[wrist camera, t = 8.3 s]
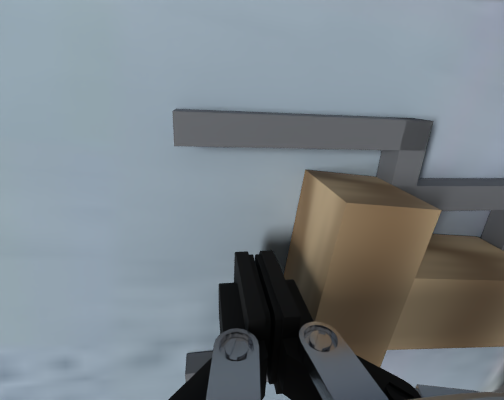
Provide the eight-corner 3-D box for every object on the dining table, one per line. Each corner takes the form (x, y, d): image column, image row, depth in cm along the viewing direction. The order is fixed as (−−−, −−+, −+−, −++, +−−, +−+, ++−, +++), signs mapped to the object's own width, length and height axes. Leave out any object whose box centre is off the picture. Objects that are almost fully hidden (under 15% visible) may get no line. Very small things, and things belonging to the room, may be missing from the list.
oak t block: (272, 328, 16) (293, 401, 12) (305, 169, 13) (346, 202, 9) (436, 326, 18) (497, 388, 14) (498, 188, 15) (596, 222, 11)
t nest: (187, 369, 16) (186, 390, 15) (175, 108, 11) (172, 111, 10) (457, 342, 19) (473, 358, 18) (544, 123, 14) (574, 126, 13)
